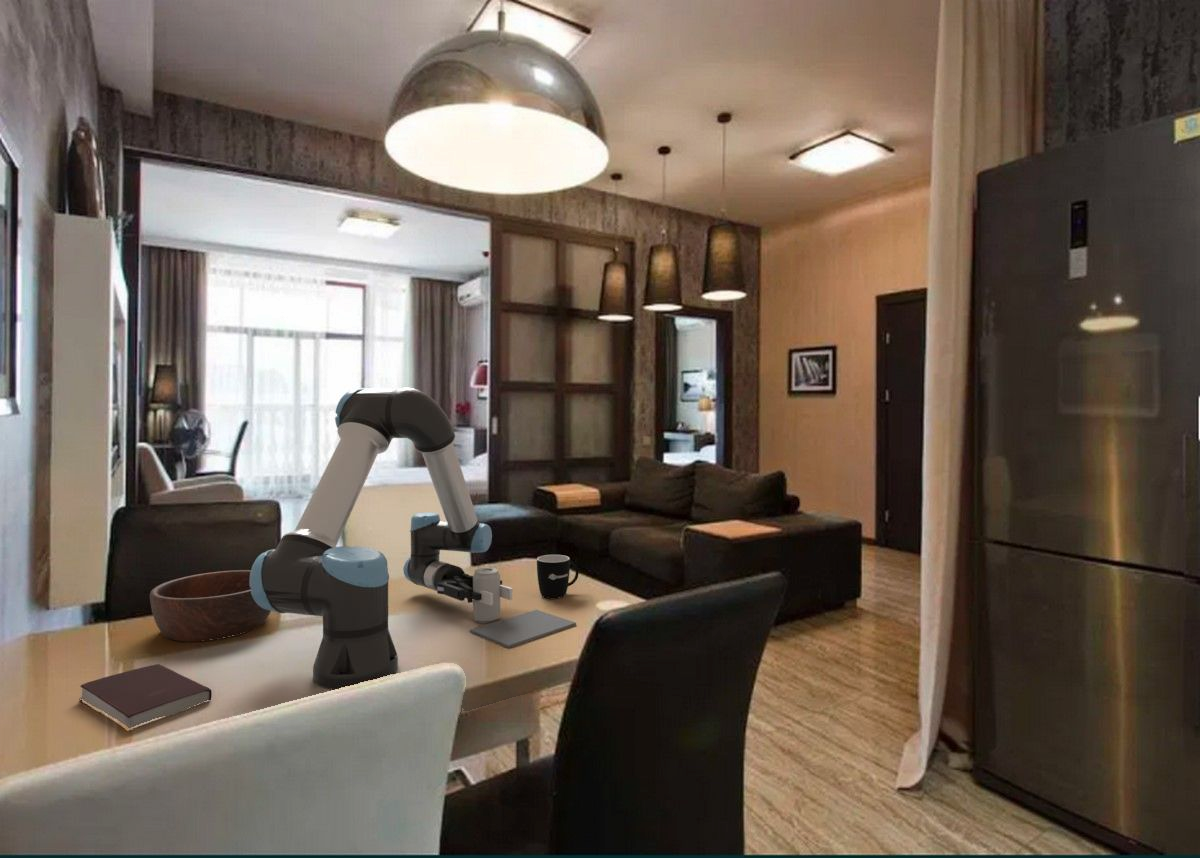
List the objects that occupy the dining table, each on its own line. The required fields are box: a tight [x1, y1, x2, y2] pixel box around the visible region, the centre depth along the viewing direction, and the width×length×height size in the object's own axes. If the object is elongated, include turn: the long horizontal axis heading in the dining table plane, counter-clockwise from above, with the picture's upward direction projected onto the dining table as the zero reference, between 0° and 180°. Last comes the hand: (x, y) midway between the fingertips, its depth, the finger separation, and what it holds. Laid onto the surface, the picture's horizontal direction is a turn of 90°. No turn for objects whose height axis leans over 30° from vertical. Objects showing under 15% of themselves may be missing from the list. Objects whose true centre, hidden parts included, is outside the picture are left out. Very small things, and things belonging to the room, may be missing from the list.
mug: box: [536, 554, 580, 599], centre depth 173 cm, size 12×9×10 cm
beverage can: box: [472, 567, 501, 624], centre depth 152 cm, size 6×6×12 cm
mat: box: [469, 609, 577, 649], centre depth 146 cm, size 20×14×1 cm
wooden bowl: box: [149, 569, 272, 642], centre depth 146 cm, size 25×25×10 cm
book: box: [80, 663, 212, 728], centre depth 109 cm, size 12×19×3 cm, turn 57°
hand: (501, 596), depth 149 cm, fingers closed on beverage can, 5 cm apart
